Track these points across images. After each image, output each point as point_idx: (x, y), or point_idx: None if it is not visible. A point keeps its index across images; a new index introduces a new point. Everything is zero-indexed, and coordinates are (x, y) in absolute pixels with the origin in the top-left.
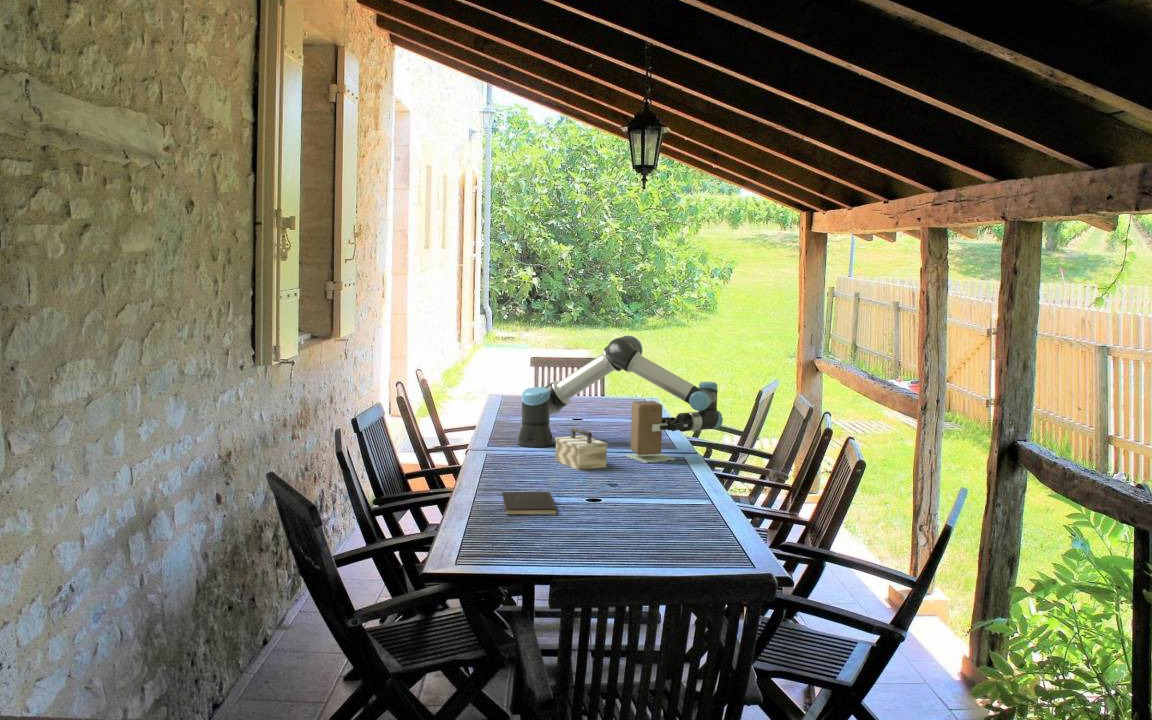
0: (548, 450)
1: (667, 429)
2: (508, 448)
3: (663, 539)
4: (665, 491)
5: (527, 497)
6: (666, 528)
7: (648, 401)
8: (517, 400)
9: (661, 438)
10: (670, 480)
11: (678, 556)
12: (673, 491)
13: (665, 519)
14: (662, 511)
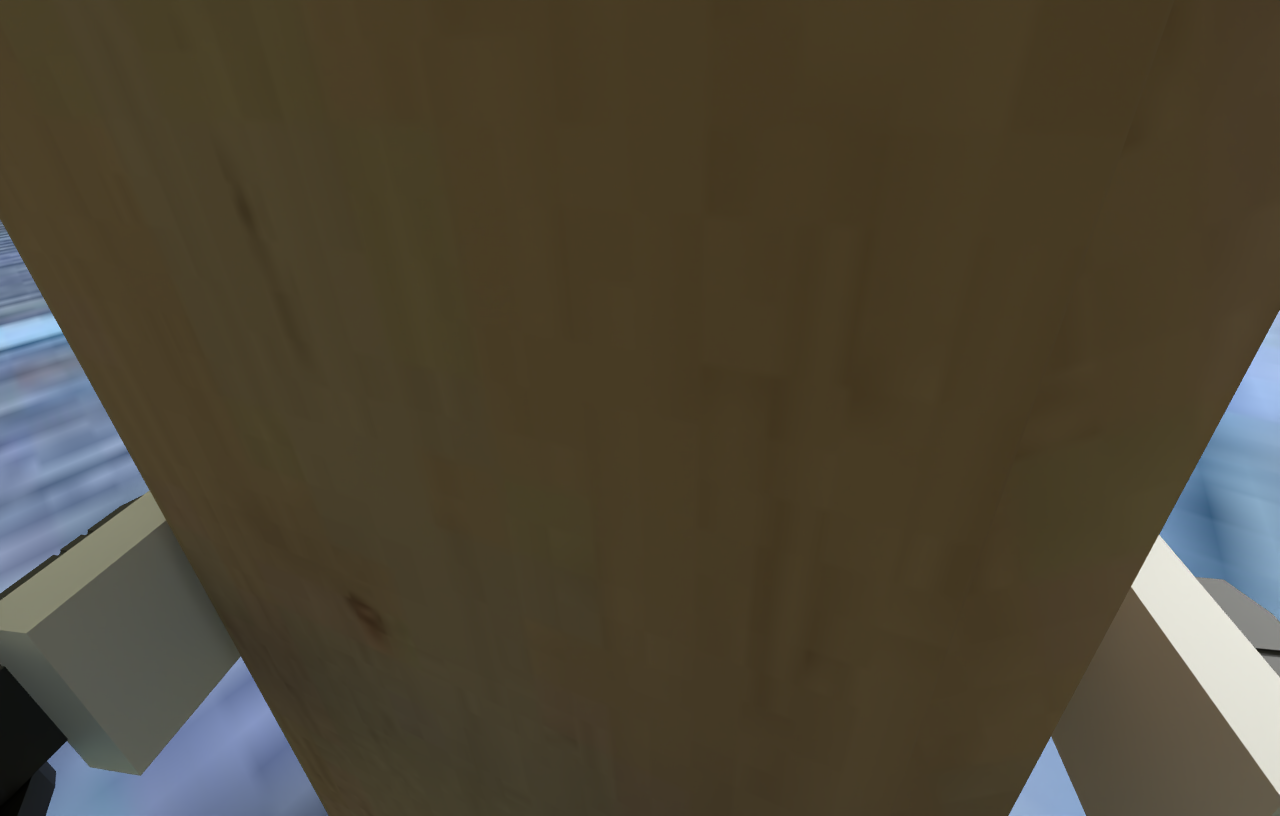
0: (1225, 423)
1: (33, 748)
2: (1265, 340)
3: (4, 240)
4: (56, 375)
5: None
6: (2, 258)
7: None
8: None
9: (324, 807)
10: (55, 480)
11: None
12: (8, 390)
13: (13, 275)
14: (33, 291)
